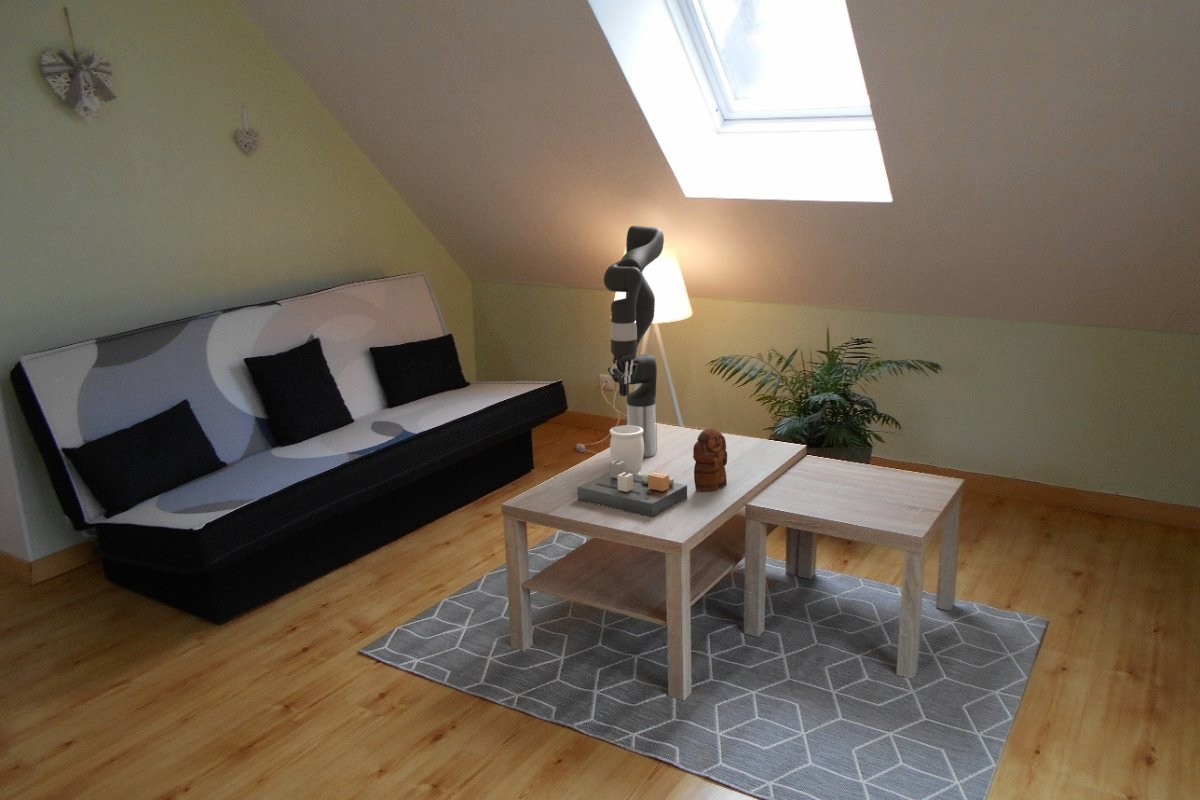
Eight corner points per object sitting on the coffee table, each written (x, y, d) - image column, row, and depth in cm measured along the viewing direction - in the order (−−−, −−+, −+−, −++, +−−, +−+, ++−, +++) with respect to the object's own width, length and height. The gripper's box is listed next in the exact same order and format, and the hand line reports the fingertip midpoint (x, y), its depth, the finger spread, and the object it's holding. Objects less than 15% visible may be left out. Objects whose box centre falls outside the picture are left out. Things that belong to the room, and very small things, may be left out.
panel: (614, 482, 305) (613, 462, 303) (687, 498, 289) (687, 477, 288) (577, 499, 291) (577, 478, 289) (652, 517, 276) (651, 495, 274)
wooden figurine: (709, 495, 292) (709, 435, 287) (691, 490, 296) (691, 432, 291) (731, 483, 301) (731, 426, 296) (713, 479, 304) (713, 422, 300)
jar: (641, 482, 304) (640, 434, 300) (607, 481, 306) (606, 433, 302) (646, 471, 314) (646, 425, 310) (614, 470, 316) (613, 424, 312)
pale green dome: (647, 478, 294) (647, 472, 294) (658, 481, 292) (658, 474, 291) (639, 482, 291) (639, 475, 291) (650, 484, 289) (650, 478, 288)
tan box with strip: (654, 485, 288) (654, 471, 287) (668, 488, 285) (668, 474, 284) (648, 488, 286) (648, 474, 285) (663, 491, 283) (662, 477, 282)
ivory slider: (624, 486, 288) (623, 471, 287) (633, 488, 286) (633, 473, 285) (617, 489, 285) (617, 474, 284) (626, 492, 283) (626, 476, 282)
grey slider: (616, 473, 299) (616, 459, 298) (625, 475, 297) (624, 461, 296) (610, 476, 296) (609, 462, 295) (618, 478, 295) (618, 463, 293)
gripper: (620, 343, 278) (621, 403, 283) (647, 334, 288) (648, 392, 293) (599, 339, 282) (600, 398, 287) (626, 331, 292) (627, 388, 297)
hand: (624, 395), depth 290 cm, fingers closed
